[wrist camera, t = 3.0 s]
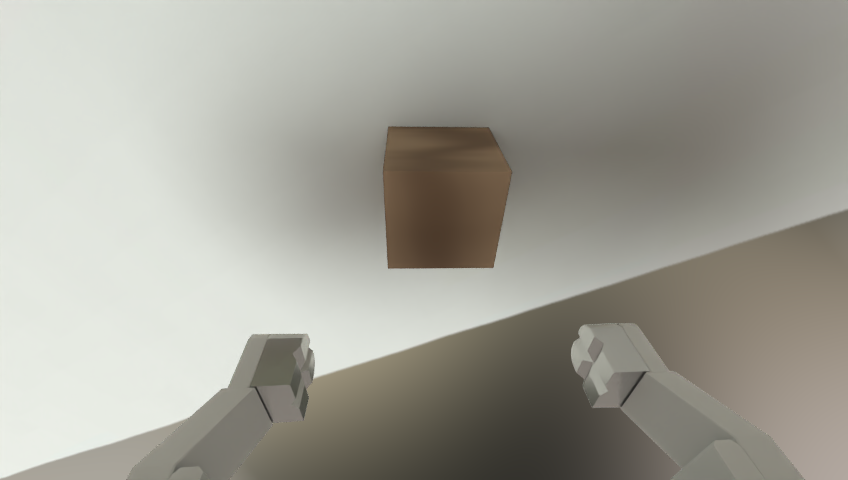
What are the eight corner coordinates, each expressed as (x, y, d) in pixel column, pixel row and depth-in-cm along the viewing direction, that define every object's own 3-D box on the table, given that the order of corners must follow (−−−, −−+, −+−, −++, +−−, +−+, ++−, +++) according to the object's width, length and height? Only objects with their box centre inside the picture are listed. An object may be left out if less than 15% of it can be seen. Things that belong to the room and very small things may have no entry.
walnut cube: (488, 126, 18) (511, 171, 14) (476, 211, 21) (493, 267, 17) (388, 125, 17) (382, 171, 13) (391, 211, 20) (388, 268, 16)
